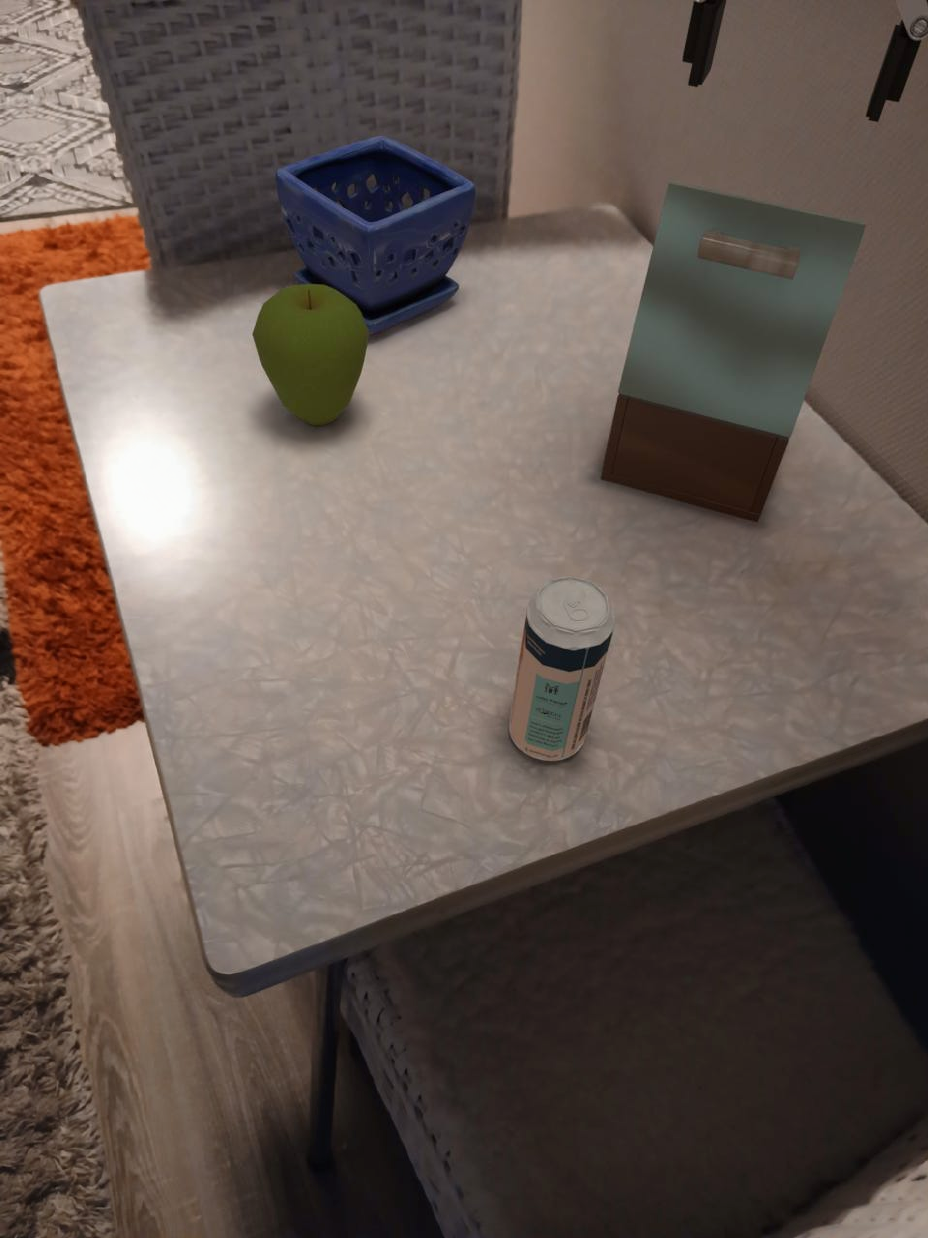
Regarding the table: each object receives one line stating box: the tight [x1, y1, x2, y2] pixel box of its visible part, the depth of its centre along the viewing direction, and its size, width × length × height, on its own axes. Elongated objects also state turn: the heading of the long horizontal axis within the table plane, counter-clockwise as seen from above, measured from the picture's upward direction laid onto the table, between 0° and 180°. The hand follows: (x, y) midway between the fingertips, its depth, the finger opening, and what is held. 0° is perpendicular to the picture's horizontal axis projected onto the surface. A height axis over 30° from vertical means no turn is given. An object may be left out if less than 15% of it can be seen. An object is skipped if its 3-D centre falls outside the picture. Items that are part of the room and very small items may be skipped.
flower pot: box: [275, 135, 477, 335], centre depth 89 cm, size 13×13×12 cm
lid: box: [617, 180, 867, 438], centre depth 64 cm, size 14×13×6 cm
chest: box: [600, 393, 791, 523], centre depth 78 cm, size 14×13×8 cm
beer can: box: [508, 575, 616, 762], centre depth 56 cm, size 5×5×12 cm
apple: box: [252, 284, 371, 427], centre depth 76 cm, size 9×8×12 cm
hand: (784, 95), depth 54 cm, fingers open, 9 cm apart
